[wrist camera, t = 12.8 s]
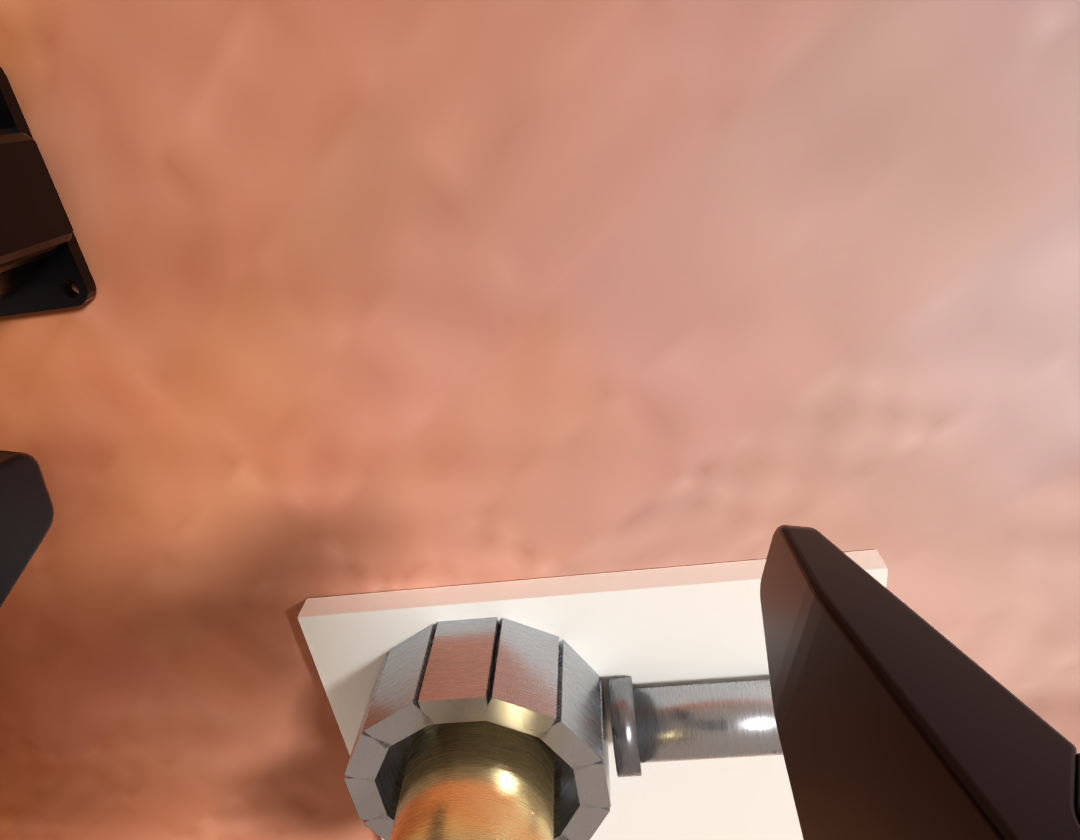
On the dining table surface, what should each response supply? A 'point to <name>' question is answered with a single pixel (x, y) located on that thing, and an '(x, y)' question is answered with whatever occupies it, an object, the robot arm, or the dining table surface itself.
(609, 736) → the mounting plate
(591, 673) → the steel cradle
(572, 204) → the dining table surface
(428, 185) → the dining table surface
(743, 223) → the dining table surface
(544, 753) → the cylinder
